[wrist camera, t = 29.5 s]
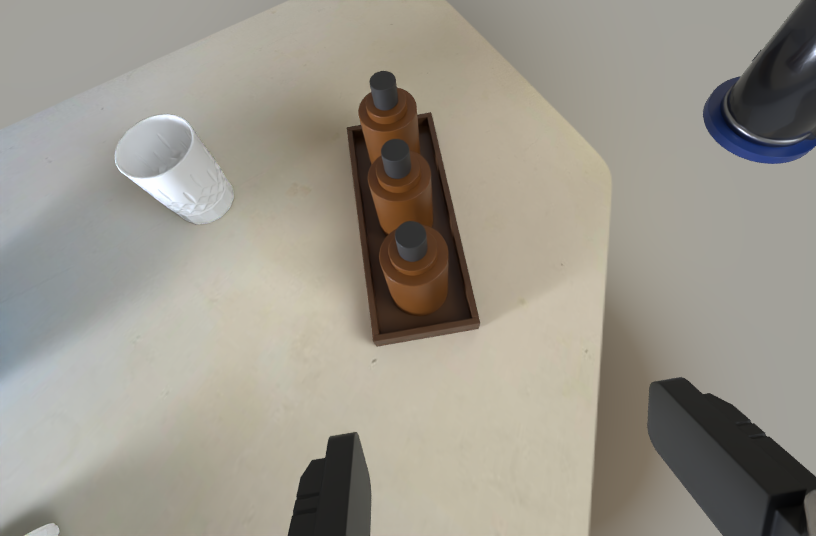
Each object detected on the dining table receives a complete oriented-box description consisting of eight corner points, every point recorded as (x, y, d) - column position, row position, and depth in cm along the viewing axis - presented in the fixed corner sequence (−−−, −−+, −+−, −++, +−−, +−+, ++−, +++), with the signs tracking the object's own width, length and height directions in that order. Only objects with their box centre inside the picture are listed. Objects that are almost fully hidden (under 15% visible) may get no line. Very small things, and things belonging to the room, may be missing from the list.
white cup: (242, 219, 49) (196, 166, 40) (176, 237, 49) (113, 188, 40) (235, 165, 52) (191, 105, 43) (173, 182, 52) (114, 125, 43)
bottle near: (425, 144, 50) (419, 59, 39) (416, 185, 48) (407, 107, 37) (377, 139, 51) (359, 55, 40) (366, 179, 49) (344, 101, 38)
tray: (478, 328, 42) (480, 323, 40) (376, 346, 42) (373, 341, 40) (431, 124, 52) (431, 112, 50) (350, 139, 52) (346, 127, 50)
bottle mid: (437, 201, 47) (434, 126, 36) (428, 248, 45) (422, 182, 34) (386, 195, 48) (369, 119, 37) (375, 240, 46) (353, 174, 35)
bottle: (436, 255, 45) (433, 192, 34) (456, 305, 42) (460, 254, 31) (383, 273, 44) (363, 215, 33) (401, 324, 42) (385, 280, 31)
